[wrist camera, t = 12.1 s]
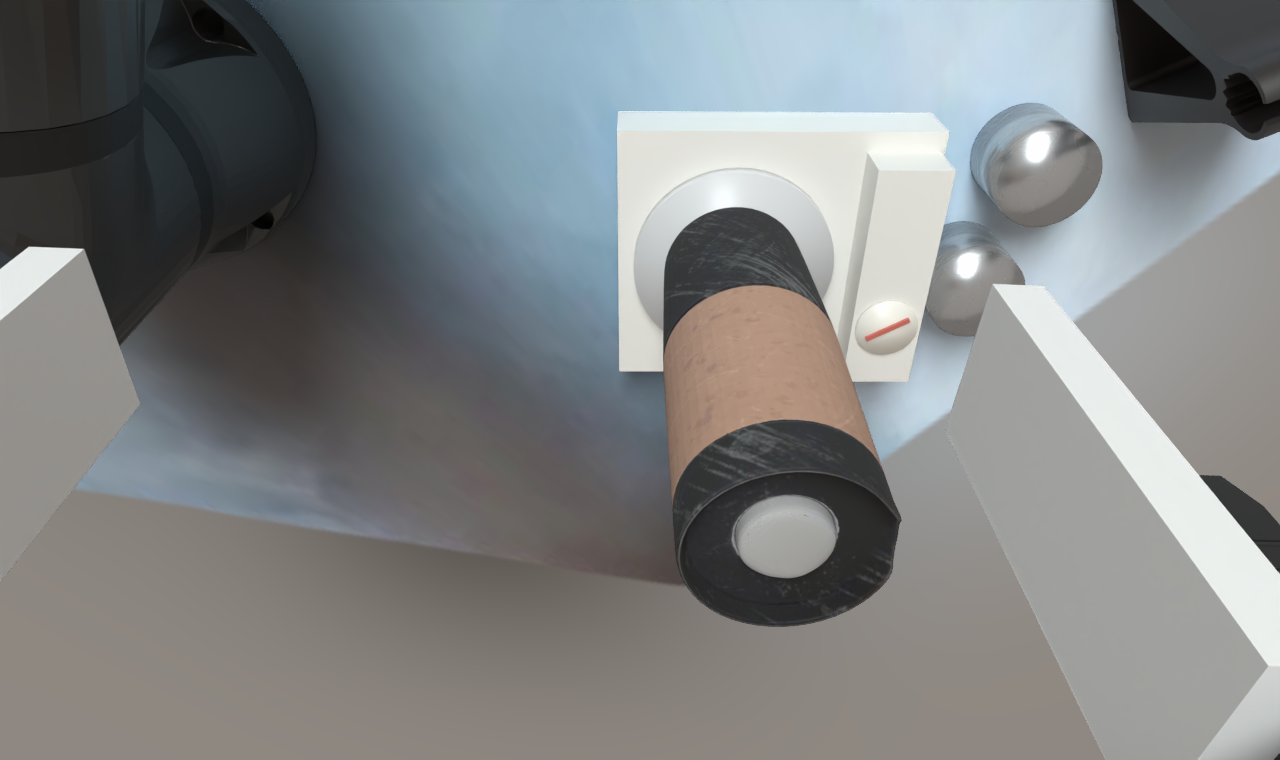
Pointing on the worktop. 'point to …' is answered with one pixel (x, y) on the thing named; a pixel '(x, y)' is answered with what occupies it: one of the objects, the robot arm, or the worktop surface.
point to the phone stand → (1202, 62)
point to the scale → (791, 215)
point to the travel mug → (766, 432)
